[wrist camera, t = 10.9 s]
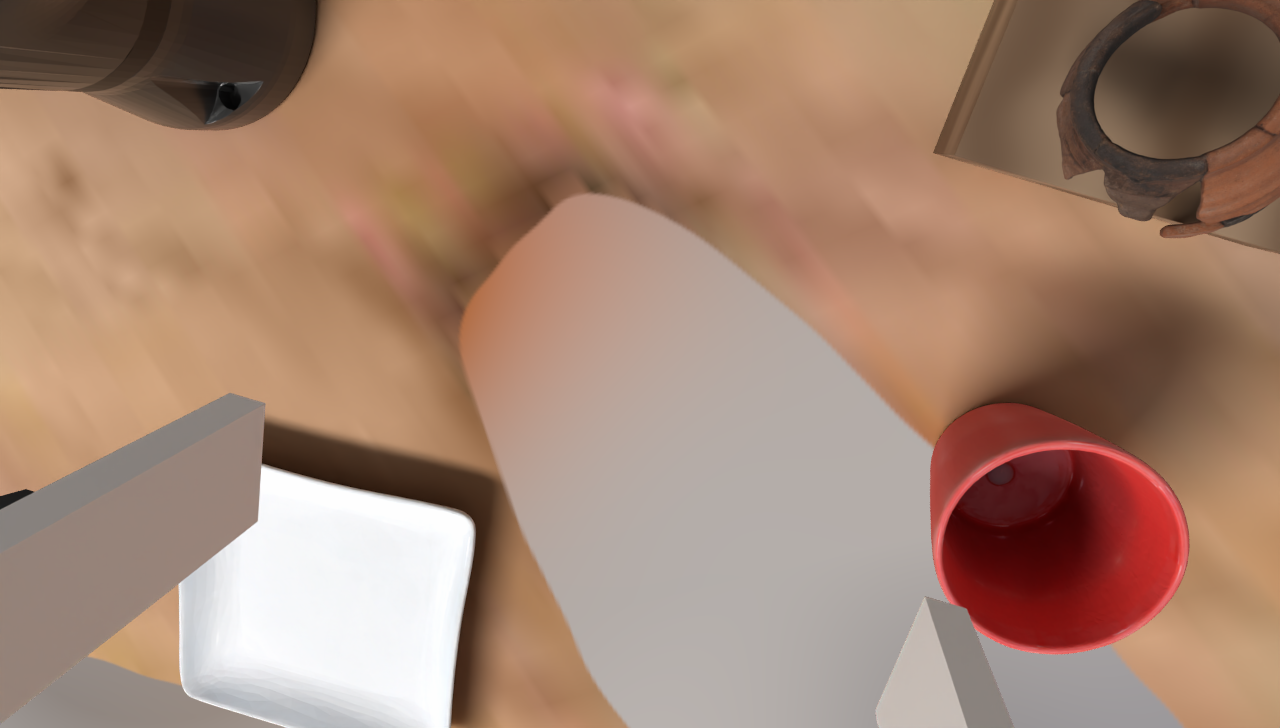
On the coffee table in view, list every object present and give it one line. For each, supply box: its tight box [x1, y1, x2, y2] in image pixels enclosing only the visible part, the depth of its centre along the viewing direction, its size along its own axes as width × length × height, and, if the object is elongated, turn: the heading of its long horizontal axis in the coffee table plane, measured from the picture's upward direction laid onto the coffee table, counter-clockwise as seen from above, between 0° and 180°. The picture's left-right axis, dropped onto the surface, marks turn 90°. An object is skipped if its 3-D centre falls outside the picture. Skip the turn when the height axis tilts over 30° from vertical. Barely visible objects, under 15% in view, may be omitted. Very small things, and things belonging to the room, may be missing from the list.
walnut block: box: [933, 0, 1280, 254], centre depth 34 cm, size 16×10×5 cm, turn 74°
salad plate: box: [179, 463, 476, 728], centre depth 53 cm, size 21×21×3 cm
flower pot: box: [930, 403, 1189, 654], centre depth 38 cm, size 11×11×10 cm
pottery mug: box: [1056, 0, 1280, 238], centre depth 30 cm, size 12×10×8 cm
